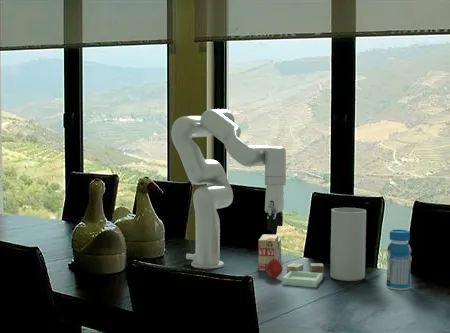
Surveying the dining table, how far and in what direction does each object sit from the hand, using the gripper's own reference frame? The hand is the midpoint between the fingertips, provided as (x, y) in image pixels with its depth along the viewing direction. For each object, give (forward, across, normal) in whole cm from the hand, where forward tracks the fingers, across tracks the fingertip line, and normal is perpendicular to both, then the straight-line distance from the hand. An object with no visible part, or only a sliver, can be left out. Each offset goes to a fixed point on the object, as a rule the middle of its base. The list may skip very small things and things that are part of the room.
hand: (275, 227), depth 261 cm
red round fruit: (+19, 0, 0) cm, 19 cm away
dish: (+19, +2, +11) cm, 22 cm away
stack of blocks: (+19, -21, -7) cm, 29 cm away
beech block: (+19, -8, +6) cm, 21 cm away
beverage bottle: (+19, -2, +44) cm, 48 cm away
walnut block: (+19, -9, +14) cm, 25 cm away
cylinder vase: (+19, -11, +25) cm, 33 cm away
